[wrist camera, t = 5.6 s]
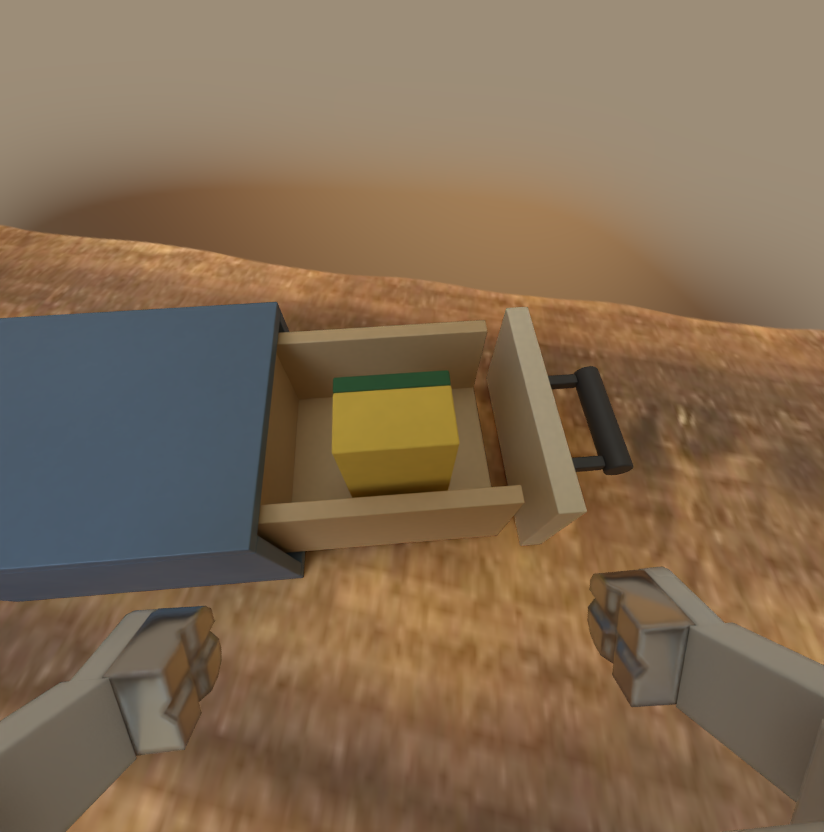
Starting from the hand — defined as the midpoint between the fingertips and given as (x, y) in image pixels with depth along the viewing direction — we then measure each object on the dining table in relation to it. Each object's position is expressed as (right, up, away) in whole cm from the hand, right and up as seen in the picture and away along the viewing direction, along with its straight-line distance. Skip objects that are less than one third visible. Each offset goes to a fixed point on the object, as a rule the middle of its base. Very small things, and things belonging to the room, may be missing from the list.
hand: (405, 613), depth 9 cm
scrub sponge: (-1, 0, +14) cm, 14 cm away
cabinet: (-14, 0, +16) cm, 21 cm away
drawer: (+2, +2, +16) cm, 16 cm away
